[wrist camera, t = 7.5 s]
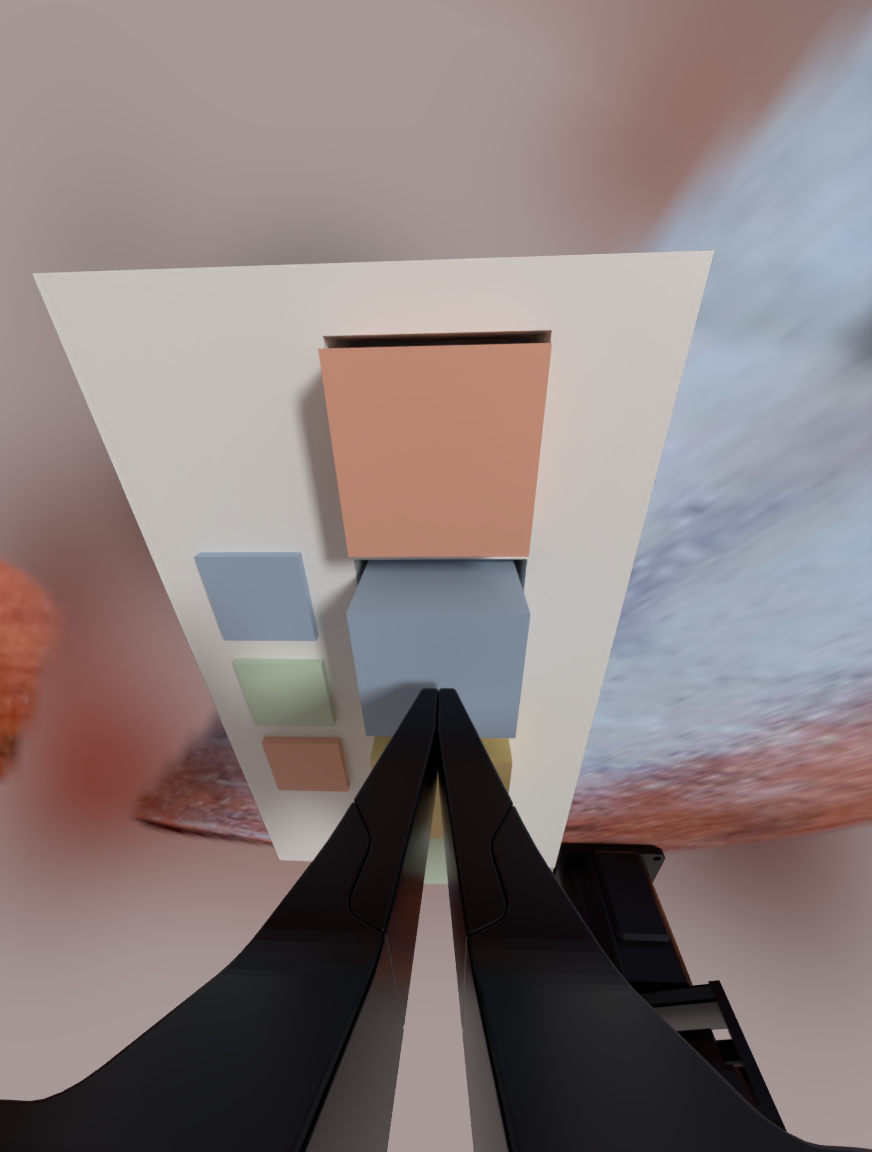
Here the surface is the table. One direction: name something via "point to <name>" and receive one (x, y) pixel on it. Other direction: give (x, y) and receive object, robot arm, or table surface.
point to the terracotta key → (437, 446)
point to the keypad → (311, 496)
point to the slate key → (440, 639)
